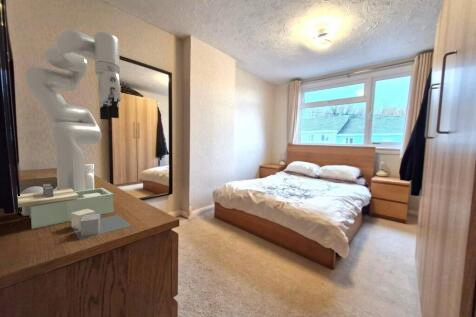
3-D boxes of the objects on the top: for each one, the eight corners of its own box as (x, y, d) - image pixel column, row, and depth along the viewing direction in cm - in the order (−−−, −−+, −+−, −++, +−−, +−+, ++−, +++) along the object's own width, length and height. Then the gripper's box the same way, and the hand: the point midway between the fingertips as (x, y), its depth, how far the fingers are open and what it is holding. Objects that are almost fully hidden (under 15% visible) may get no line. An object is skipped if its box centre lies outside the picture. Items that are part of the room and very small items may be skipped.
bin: (29, 218, 63) (28, 197, 62) (103, 204, 77) (102, 187, 77) (32, 230, 55) (30, 206, 54) (113, 212, 69) (113, 193, 69)
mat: (70, 226, 58) (70, 225, 58) (117, 215, 66) (117, 214, 66) (79, 241, 50) (79, 239, 49) (132, 226, 58) (132, 225, 58)
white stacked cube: (83, 209, 70) (82, 194, 69) (98, 206, 73) (98, 192, 72) (86, 212, 67) (85, 197, 66) (102, 209, 70) (101, 195, 69)
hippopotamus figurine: (72, 209, 72) (70, 184, 71) (19, 219, 62) (17, 190, 61) (67, 204, 76) (66, 181, 76) (18, 213, 67) (16, 186, 66)
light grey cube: (84, 229, 55) (84, 215, 55) (100, 227, 56) (100, 213, 56) (81, 236, 51) (80, 221, 51) (98, 234, 53) (97, 219, 52)
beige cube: (71, 226, 57) (71, 212, 56) (87, 221, 60) (87, 208, 60) (79, 230, 55) (78, 215, 54) (95, 224, 58) (95, 211, 58)
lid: (17, 197, 61) (17, 185, 61) (71, 191, 70) (70, 180, 70) (18, 207, 52) (17, 193, 52) (78, 198, 62) (78, 186, 61)
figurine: (78, 207, 74) (77, 165, 73) (79, 200, 82) (77, 163, 80) (102, 203, 78) (101, 164, 77) (101, 197, 86) (100, 162, 85)
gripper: (127, 68, 71) (128, 118, 73) (111, 78, 83) (113, 120, 84) (102, 62, 66) (104, 116, 67) (89, 73, 77) (91, 119, 79)
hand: (109, 118), depth 76 cm, fingers open, 9 cm apart
